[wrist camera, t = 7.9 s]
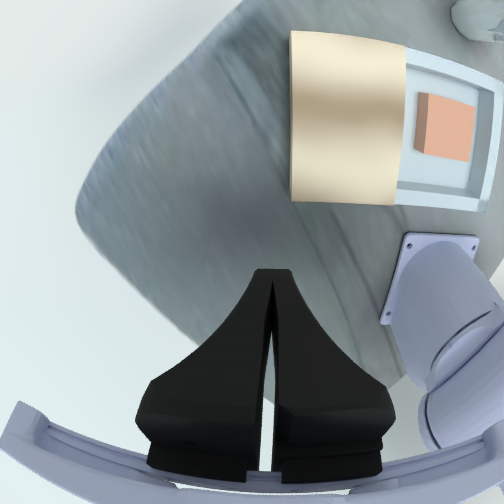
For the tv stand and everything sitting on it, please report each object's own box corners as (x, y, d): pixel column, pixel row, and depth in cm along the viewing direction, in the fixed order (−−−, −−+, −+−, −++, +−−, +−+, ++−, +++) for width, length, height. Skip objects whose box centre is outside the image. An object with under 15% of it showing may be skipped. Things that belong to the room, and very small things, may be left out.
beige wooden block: (381, 191, 18) (393, 205, 16) (289, 187, 19) (291, 201, 17) (390, 50, 13) (405, 46, 11) (288, 38, 14) (291, 30, 12)
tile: (423, 153, 15) (413, 148, 16) (468, 162, 15) (457, 156, 16) (428, 93, 13) (418, 92, 14) (475, 107, 13) (463, 104, 14)
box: (470, 200, 18) (485, 212, 16) (381, 191, 18) (391, 203, 17) (486, 80, 13) (503, 83, 11) (390, 50, 13) (403, 46, 11)
